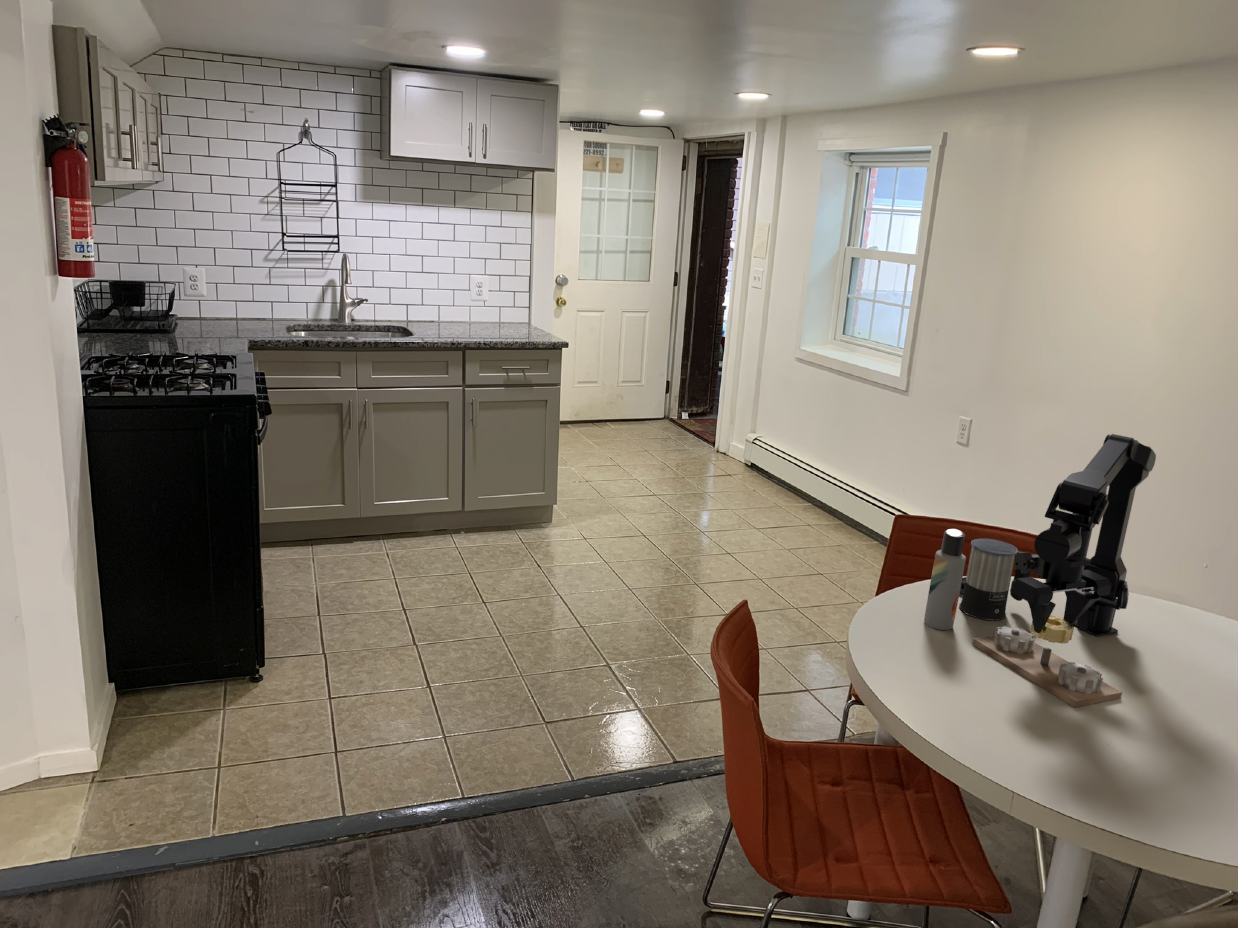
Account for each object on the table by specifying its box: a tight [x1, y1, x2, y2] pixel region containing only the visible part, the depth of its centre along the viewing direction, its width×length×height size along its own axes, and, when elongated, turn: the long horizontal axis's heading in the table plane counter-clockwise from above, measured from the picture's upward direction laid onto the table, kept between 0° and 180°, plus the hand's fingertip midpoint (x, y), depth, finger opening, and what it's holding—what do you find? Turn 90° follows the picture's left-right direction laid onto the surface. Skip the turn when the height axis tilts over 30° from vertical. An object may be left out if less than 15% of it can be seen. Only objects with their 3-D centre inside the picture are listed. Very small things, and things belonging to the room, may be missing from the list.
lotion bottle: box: [923, 528, 967, 631], centre depth 183 cm, size 6×6×20 cm
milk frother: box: [958, 538, 1031, 621], centre depth 195 cm, size 14×16×15 cm
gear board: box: [972, 625, 1123, 708], centre depth 169 cm, size 24×11×4 cm, turn 23°
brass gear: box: [1029, 614, 1075, 644], centre depth 167 cm, size 7×7×2 cm
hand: (1051, 629), depth 167 cm, fingers closed on brass gear, 7 cm apart
